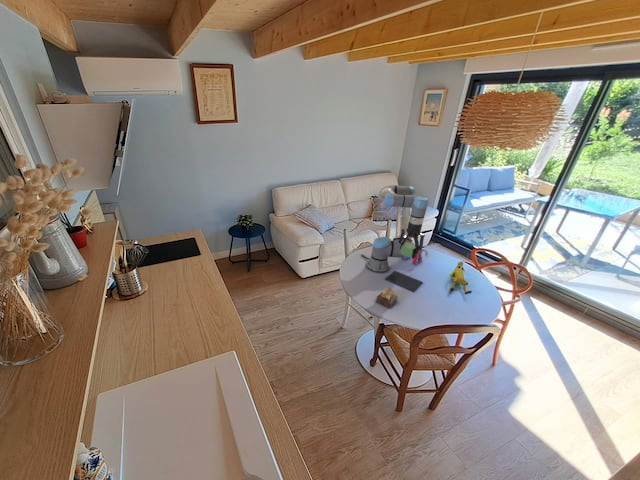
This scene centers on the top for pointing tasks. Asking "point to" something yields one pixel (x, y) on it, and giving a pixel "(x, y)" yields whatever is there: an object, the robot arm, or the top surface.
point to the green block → (407, 249)
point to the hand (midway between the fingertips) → (407, 255)
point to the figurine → (459, 278)
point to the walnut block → (386, 300)
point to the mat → (404, 281)
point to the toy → (418, 255)
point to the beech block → (387, 293)
